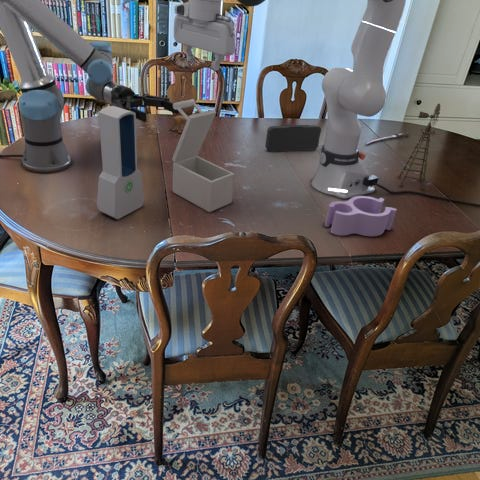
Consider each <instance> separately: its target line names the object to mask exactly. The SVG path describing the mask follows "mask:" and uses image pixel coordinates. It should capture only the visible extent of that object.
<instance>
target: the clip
mask: <svg viewBox="0 0 480 480" xmlns="http://www.w3.org/2000/svg"><path fill="white" fill-rule="evenodd" d="M384 201H385V198H383V197H379V198H376V197H373V196H368V195H359V196H355V197H350V198H349V200H347V201H339V200H338V201H337V200H335V201H332V202H330V203H329V205H328V208H327V214H326V218H325V222H324V227H326V228H329V227H330V226H331V227H330V233H331V234H333V235H336V236H348V235H353V234H356V235H360V236H364V237H365V236H366V237H378V236H381V235H382V234H384V232H385V230H387V231H391V229H392V226H393V222H394V219H395V216H396V213H397V210H398V209H397V208H395V207H391V206H385V207H384V211H383V212H382V209H383V206H384Z"/></svg>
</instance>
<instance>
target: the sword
mask: <svg viewBox="0 0 480 480" xmlns="http://www.w3.org/2000/svg"><path fill="white" fill-rule="evenodd" d="M402 134H403V133H398V134H397V133H394V134H392V135H389V136H383V137H379V138H376V139H372V140H369V141H367V142H366V146H368V145H371V144H373V143H377V142H381V141H384V140H389V139H393V138H400V137H402V136H404V135H402ZM408 135H409V136H410V133H409V134H406V135H405V136H408Z"/></svg>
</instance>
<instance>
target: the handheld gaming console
mask: <svg viewBox="0 0 480 480" xmlns="http://www.w3.org/2000/svg"><path fill="white" fill-rule="evenodd" d="M321 133H322V127H321V126H319V125H318V124H292V125H291V124H290V125H289V124H286V125H285V124H284V125H283V124H281V125H270V126H268V127H267V130H266V139H265V145H264V146H265V150H267V151H268V152H289V151H290V152H292V151H294V152H295V151H312V150H317V148H318V147H319V144H320V137H321Z"/></svg>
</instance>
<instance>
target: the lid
mask: <svg viewBox="0 0 480 480" xmlns="http://www.w3.org/2000/svg"><path fill="white" fill-rule="evenodd" d="M172 103H173V108H174V109H175V110H178V111H179V114H181V116H183V117H185V118H186V120H187V122H186V124H185V125H184V127H183V130H182V133H181V134H180V137H179V140H178V142H177V146H176V148H175V151H174V153H173V156H172V158H171V160H172V162H173V163H175V162H178V161H181V160H184V159H188V158H191V157H194V156H198V155H199V153H200V151H201V148H202V146H203V143H204V142H205V140H206V137H207V135H208V132H209V130H210V128H211V127H212V123H213V122H214V120H215V117H216V114H217V112H216V110H215V109H211V110H208V111H203V110H202V109H201V108H200V107H199V106H198V105H197V104H196V100H195V98H194V99H193V98H192V99H187V100H182V101H177V102H172ZM189 107H194V108H195V110H196V111H197V110H198V111H199V112H200V113H198V114H194V115H192V114H190V115H188V114H186V112H185V111H184V110H183V109H186V108H189Z"/></svg>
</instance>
